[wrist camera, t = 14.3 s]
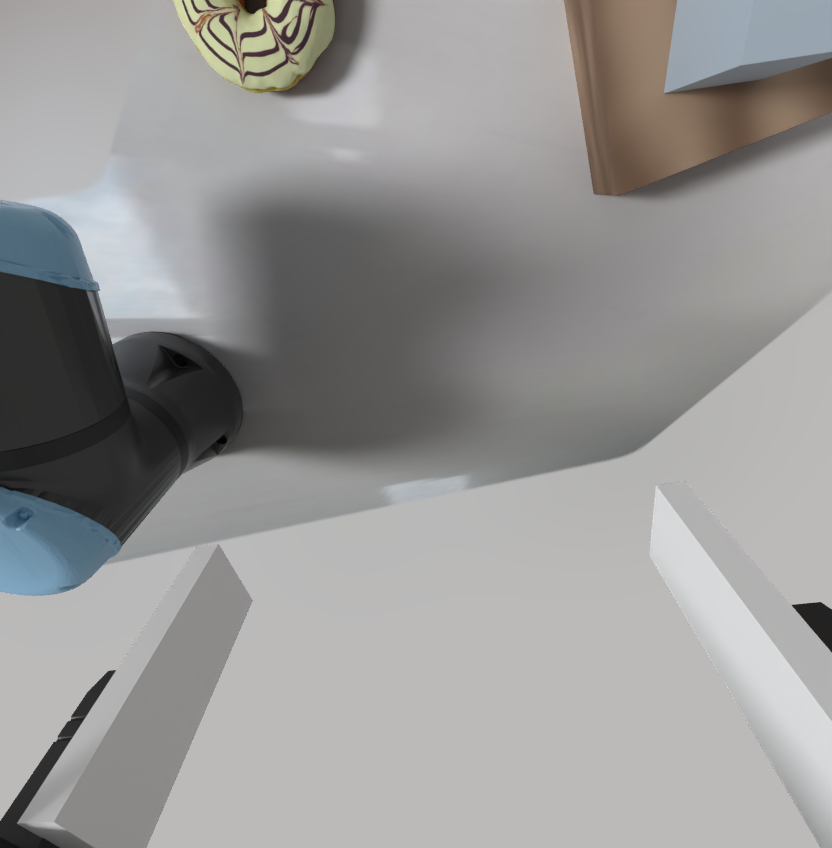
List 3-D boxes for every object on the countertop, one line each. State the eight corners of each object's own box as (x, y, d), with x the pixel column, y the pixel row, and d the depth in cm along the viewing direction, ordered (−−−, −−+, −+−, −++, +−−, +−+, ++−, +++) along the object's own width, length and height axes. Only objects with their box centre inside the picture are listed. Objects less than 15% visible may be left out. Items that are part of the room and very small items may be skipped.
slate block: (663, 93, 28) (740, 65, 21) (681, -34, 25) (778, -117, 18) (760, 79, 27) (872, 45, 20) (791, -53, 24) (934, -145, 17)
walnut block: (592, 193, 36) (619, 195, 31) (559, -18, 29) (586, -62, 24) (773, 121, 33) (837, 109, 28) (779, -131, 27) (864, -207, 21)
